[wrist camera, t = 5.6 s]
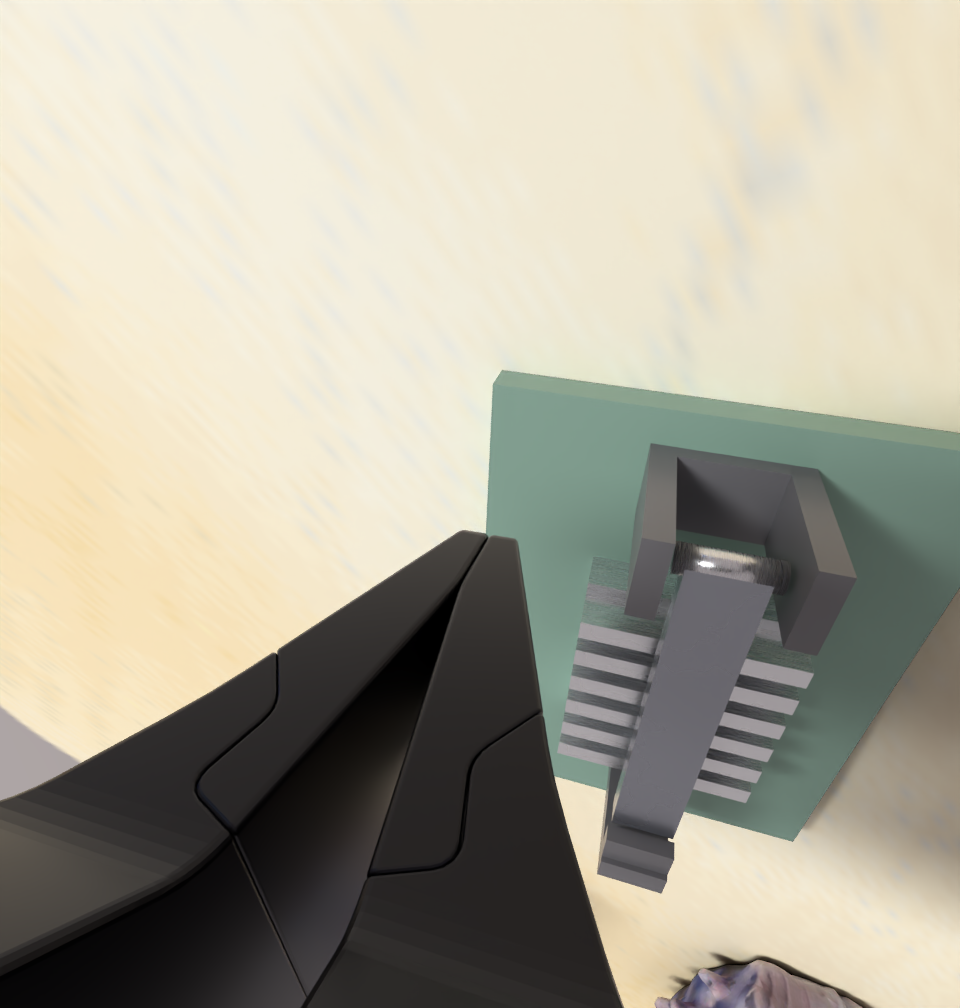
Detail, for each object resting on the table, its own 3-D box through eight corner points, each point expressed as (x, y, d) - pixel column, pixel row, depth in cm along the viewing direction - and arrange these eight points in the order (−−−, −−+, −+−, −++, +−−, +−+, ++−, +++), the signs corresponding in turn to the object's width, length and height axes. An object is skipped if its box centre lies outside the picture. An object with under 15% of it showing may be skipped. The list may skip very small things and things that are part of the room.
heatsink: (802, 597, 20) (819, 664, 18) (736, 739, 25) (742, 808, 22) (593, 555, 22) (582, 613, 19) (567, 697, 26) (556, 758, 24)
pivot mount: (817, 469, 18) (857, 578, 14) (789, 538, 19) (817, 655, 15) (650, 443, 19) (641, 537, 15) (635, 511, 20) (623, 614, 16)
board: (1021, 441, 17) (1041, 462, 16) (789, 816, 28) (792, 841, 27) (502, 370, 20) (492, 384, 19) (481, 734, 31) (475, 754, 30)
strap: (677, 534, 16) (677, 553, 15) (787, 554, 16) (792, 575, 15) (605, 796, 23) (603, 819, 22) (681, 817, 22) (681, 841, 22)
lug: (675, 735, 26) (673, 865, 21) (664, 765, 27) (661, 893, 22) (618, 721, 26) (605, 845, 22) (610, 750, 27) (597, 873, 23)
